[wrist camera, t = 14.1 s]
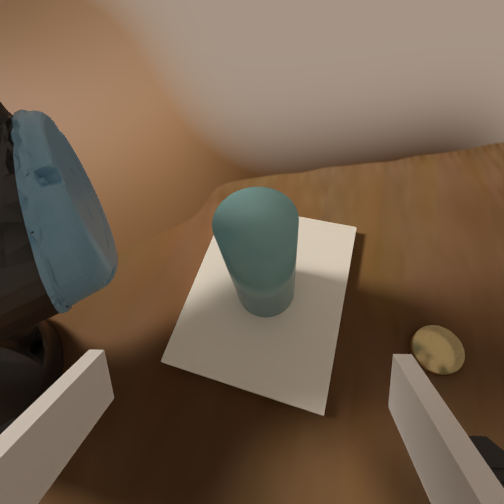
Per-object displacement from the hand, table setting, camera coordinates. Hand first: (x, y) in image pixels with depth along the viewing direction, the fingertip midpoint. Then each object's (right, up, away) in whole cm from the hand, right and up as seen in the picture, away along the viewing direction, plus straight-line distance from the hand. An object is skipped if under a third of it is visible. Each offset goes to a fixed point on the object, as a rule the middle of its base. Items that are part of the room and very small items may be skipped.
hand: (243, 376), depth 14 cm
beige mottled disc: (+18, -4, +15) cm, 24 cm away
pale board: (+2, +1, +20) cm, 20 cm away
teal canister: (+2, +2, +18) cm, 19 cm away
